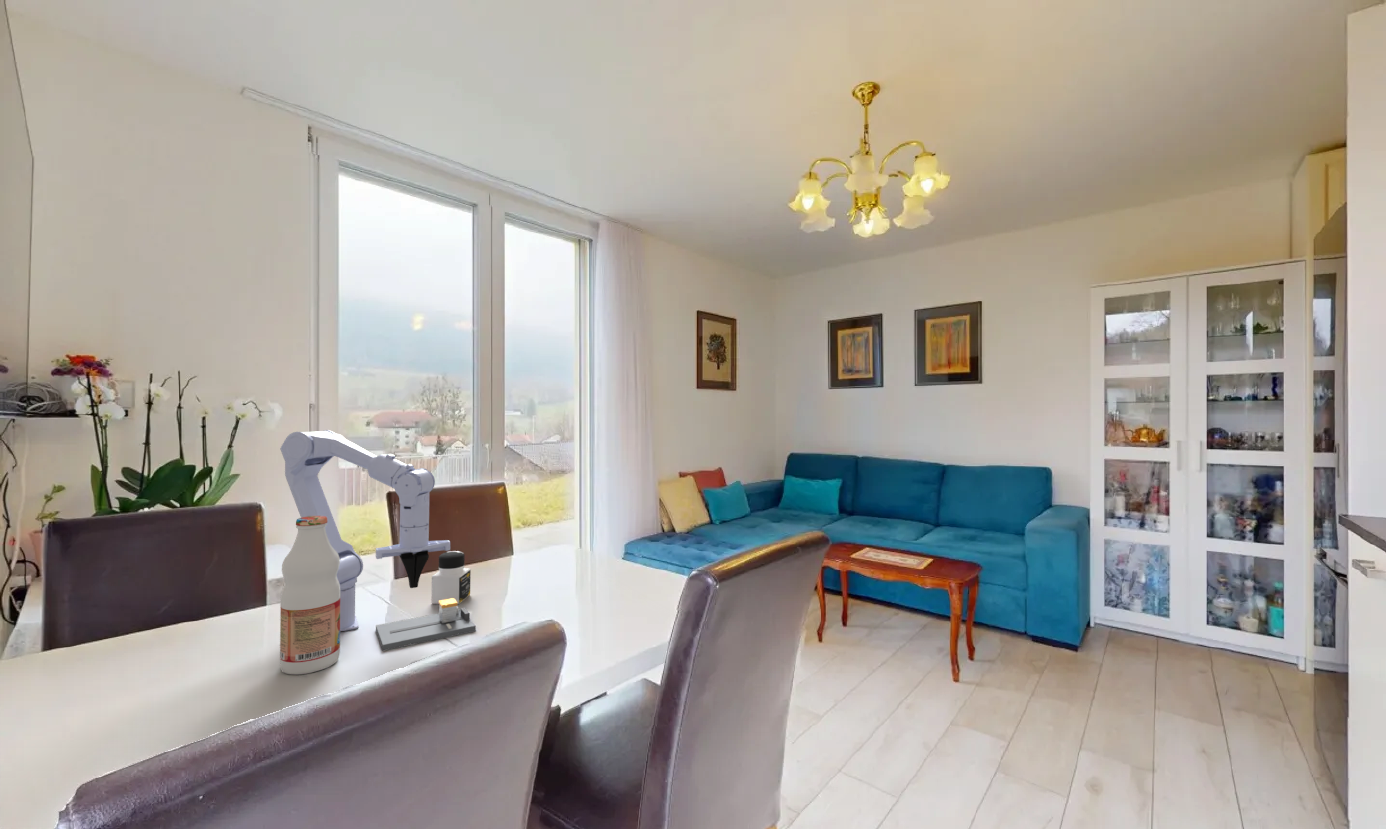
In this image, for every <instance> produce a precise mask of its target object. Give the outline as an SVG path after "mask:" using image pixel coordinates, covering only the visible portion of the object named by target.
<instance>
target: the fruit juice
mask: <svg viewBox="0 0 1386 829" xmlns="http://www.w3.org/2000/svg"><path fill="white" fill-rule="evenodd" d="M295 525H296V526H295V527H296V529H297V535H296V537H295V541H294V542H293V546H292V548H291V549H290V551H289V552H288V554H287V555H286V557H284V559H283V561H282V565H281V574H282V577H283V580H284V585H283V587H282V590H281V594H280V601H279V602H280V603H279V604H280V605H279V606H280V616H279V617H280V619H279V620H280V627H279V628H280V632H279V633H280V634H279V635H280V636H279V640H280V641H279V642H280V643H279V646H280V647H279V648H280V649H279V666H280V670H281V672H283V673H284V674H287V675H296V676H297V675H305V674H306V675H307V674H311V673H315V672H318V671H322V670H324V669H327V668H328V667H331V666H332V665H334V664H335V663H337V661H339V658H340V653H341V631H340V583H339V581H338V579H337V572H338V569H339V565H340V558H339V555H338V553H337V552H336V551H335V549H334V548H333V547H332V546H331V544H330V542H329V540H328V537H327V534H326V530H325V526H326V525H327V517H326V516H307V517H301V516H300V517H298V518H296V521H295Z"/></svg>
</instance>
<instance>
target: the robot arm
mask: <svg viewBox="0 0 1386 829" xmlns="http://www.w3.org/2000/svg"><path fill="white" fill-rule="evenodd" d="M280 451H281V454H282V458H283V460H284V475H285V479H286V482H287V484H288V487H289V490H290V492H291V495H292V498H293V501H294V503H295V505H296V508H297V510H298V513H299V515H300V518H301V517H307V516H326V517H327V525H326V526H325V530H326V534H327V537H328V540H329V542H330V544H331V546H332V547H333V548H334V549H335V551H336V552H337V553H338V555H339V558H340V565H339V569H338V572H337V579H338V581H339V583H340V632H344V631H350V630H351V631H352V630H356V629H358V628H359V622H358V619H357V616H356V583H357V582H358V577H359V576H360V575H362V572H363V570H364V562H363V559H362V558H361V556H360V555H359V554H358V553H357V552H356V551H355V548H354V547H353V544H351V543H349V542H347V541H345V540H343V539H342V538H341V534H340V533H339V530H338V527H337V524H336V521H335V518H334V516H333V514H332V510H331V509H330V508H331V507H330V506H329V503H328V500H327V498H326V495H325V492H324V490H323V487H322V486H321V485H322V484H321V482H320V479H319V477H318V475H319V473H320V471H321V470H322V468H324V466H325V465H326V464H328V463H329V462H330V461H331V459H333V458H334V457H337V458H339V459H341V460H343V461H346V462H349V463H351V464H353V465H355V466H356V465H357V466H359V467H361V468H363V469H366V470H367V473H368V476H369V478H371V479H373V480H375V481H378V482H379V483H382V484H384V485H385V486H388V487H390V488H392V489H394V491H395V493H396V495H397V496H398V498H399V500H398V501H399V502H398V504H400V505H399V543H398V544H393V545H387V546H381V547H376V548H375V559H377V560H382V559H383V558H391V557H399V558H400V560H401V562H402V564H403V566H404V569H405V572H406V575H407V578H408V585H409V588H410V589H415V588H418V587H419V582H420V579H421V578H420V577H421V574H422V572H423V570H424V567H425V565H426V564H427V562H428V561H429V557H430V554H429V553H432V552H439V551H444V552H445V551H446V552H449V551H451V541H450V540H448V539H445V540H444V539H443V540H429V539H430V538H429V536H430V533H429V532H430V492H431V491H432V490H433V489H434V488H435V485H436V480H435V476H434V475H433V473H432V472H431V471H430V470H428V469H427V468H425V467H424V468H423V467H420V468H417V469H416V468H414V465H413V464H411V463H408V464H407V463H405V462H403V461H400V460H399V459H396V455H394V454H392V453H389V454H385V453H383V454H379V455H376V454H374V453H372V452H370V451H368V450H366V449H365V448H363V447H361V446H359V445H358V444H356V443H354V442H352V441H350V440H348V439H346V438H345V436H344V435H342V434H340V433H336V432H334V431H332V430H330V429H325V430H320V431H319V430H317V431H294V432H292V433H289V434H288V435H287V437H285V439H284V441H283V443H282V444H281V446H280Z"/></svg>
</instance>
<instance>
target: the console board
mask: <svg viewBox="0 0 1386 829" xmlns="http://www.w3.org/2000/svg"><path fill="white" fill-rule="evenodd" d="M470 617H471V615H470V611H469V610H468V609H467V607H461V608H459V605H457V612H456V621H452V622H446V623H441V621H440V620H439V612H438V613H434V614H429V615H424V616H418V617H417V616H416V617H412V618H406V619H402V620H396V621H391V622H385V623H380V624H376V625H375V632H376V635H377V638H378V641H379V644H380V647H381V649H382V651H388V650H392V649H397V648H401V647H408V646H410V645H411V646H413V645H416V644H420V643H425V642H426V643H427V642H430V641H435V640H440V639H444V638H450V637H453V636H458V635H459V636H460V635H464V634H468V633H473V632H476V631H477V630H476V629H477V626H476V624H475V622H474V621H473V620H472V619H471V618H470Z"/></svg>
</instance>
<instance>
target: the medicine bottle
mask: <svg viewBox="0 0 1386 829" xmlns="http://www.w3.org/2000/svg"><path fill="white" fill-rule="evenodd" d="M465 558H466V557H465V553H464V552H462V551H459V550H457V551H456V550H452V551H451V550H449V551H446V552H445V551H444V552H443V553H441V554H440V555H439V556H438V571H437V572H436V573H435V574H433V575H432V576H431V599H430V600H431V602H430V603H431V604H432V605H439V600H445V599H451V598H454V599H455V600H456V602H457V605H460V604H461V603H462V602H463V601H465V600H466V599H468V597H470V595H471V575H472V574H471V570H472V569H471V568H469V567H468V568H467V567H465Z"/></svg>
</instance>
